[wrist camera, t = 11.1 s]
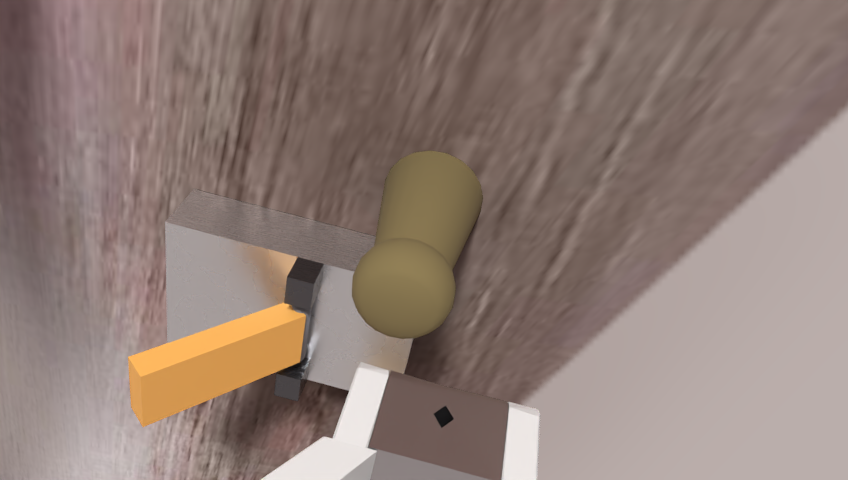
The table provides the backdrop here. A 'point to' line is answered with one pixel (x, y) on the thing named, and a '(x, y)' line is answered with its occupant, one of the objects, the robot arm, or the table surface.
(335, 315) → the breaker box
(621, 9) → the table surface
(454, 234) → the olive knobbed post
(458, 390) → the robot arm
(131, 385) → the lever
